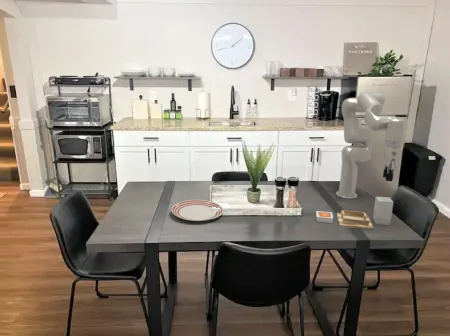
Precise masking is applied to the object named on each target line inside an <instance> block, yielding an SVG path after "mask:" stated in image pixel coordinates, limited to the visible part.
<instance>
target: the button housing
mask: <svg viewBox="0 0 450 336" xmlns="http://www.w3.org/2000/svg"><path fill="white" fill-rule="evenodd" d="M315 212H316V213H315V220H316V222H317V223H318V222H320V223H329V224H333V223H334V218H333V212H331V211H324V212H325V213H328V214H329V217H320V213H322V212H323V211H320V210H319V211H318V210H316V211H315Z"/></svg>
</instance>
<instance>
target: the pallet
mask: <svg viewBox="0 0 450 336" xmlns="http://www.w3.org/2000/svg"><path fill="white" fill-rule="evenodd" d="M340 211H341V212H336V219H337V222H338V226H339V228H347V229H358V230H367V231H374V226H373V223H372V221H371V220H370V217H369V215H367V214H366V212H365V211H356V210H344V209H341V210H340Z"/></svg>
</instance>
